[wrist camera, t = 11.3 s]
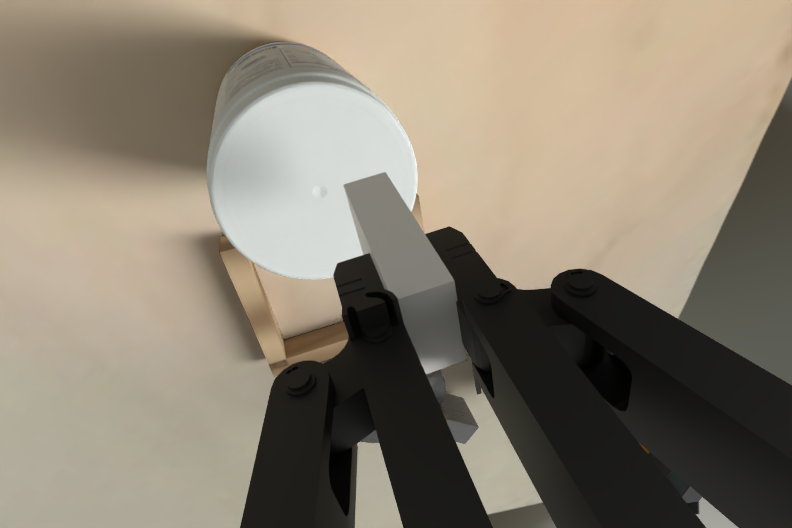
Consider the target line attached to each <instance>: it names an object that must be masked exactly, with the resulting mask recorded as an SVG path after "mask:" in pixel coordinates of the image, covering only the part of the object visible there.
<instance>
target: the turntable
mask: <svg viewBox="0 0 792 528" xmlns="http://www.w3.org/2000/svg"><path fill="white" fill-rule="evenodd" d="M426 376H427V378H428V380H429V382H430V385H431V387H432V389H433V392H434V394H435V396H436V398H437V401H438V403H439V405H440V408H441V410H442V412H443V415H444V417H445V419H446V421H447V424H448V426H449V428H450V431H451V433H452V435H453V438H454V440H455V442H459V443H464V444H465V443H466V442H467V441H468V440H469V439H470V437H471V436H472V435H473V434H474V432H475V431H476V430H477V429H478V428H479V427H478V425H477V423H476V421H475V419H474V417H473V416H472V414H471V412H470V410H469V408H468V406H467V404H466V402H465V400H464V399H463V398H461V397H458V396H454V395H451V394H447V393H445V381H444V378H443V375H442V373H441V371H440V370H437V371H434V372H432V373H429V374H426ZM361 442H368V443H379V439H378V436H377V432H376V430H375V431H373V432H372V433H371V434H369V435H368V436H367V437H365V438H364V439H362V440H361Z"/></svg>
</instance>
